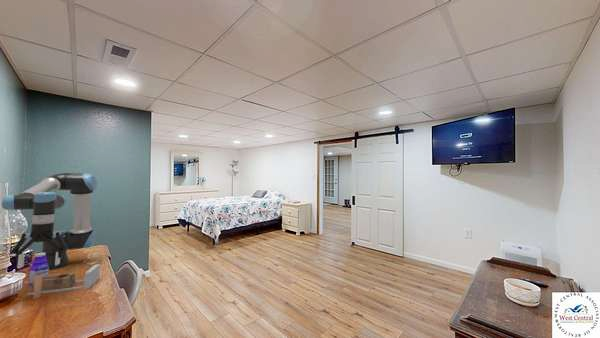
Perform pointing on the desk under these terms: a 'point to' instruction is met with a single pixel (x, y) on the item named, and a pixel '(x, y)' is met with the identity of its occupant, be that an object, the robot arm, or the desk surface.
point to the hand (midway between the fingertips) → (39, 265)
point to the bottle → (38, 267)
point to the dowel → (37, 287)
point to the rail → (90, 279)
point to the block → (56, 281)
